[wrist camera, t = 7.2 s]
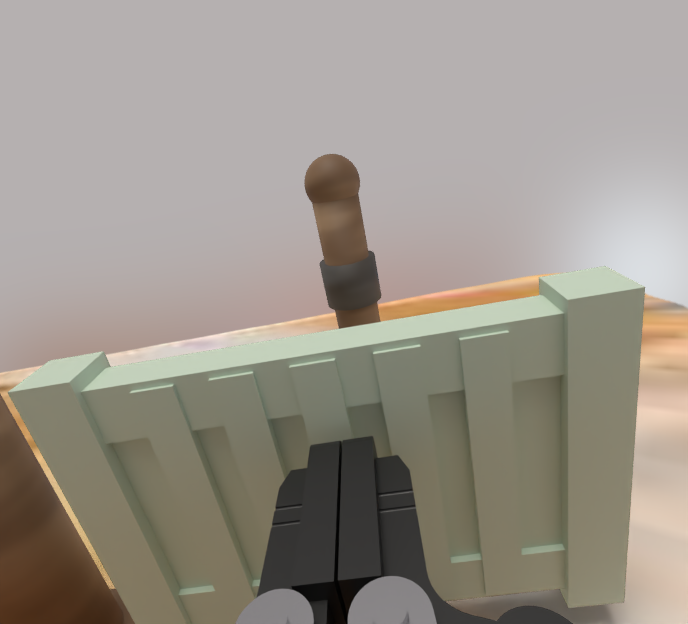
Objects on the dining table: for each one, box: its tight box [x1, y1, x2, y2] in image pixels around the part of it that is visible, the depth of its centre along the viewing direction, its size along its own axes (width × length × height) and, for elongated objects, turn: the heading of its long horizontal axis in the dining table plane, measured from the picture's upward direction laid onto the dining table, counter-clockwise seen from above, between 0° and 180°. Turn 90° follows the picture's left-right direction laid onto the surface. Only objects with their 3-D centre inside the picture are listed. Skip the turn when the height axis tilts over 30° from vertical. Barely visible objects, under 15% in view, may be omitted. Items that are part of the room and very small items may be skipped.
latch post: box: [305, 154, 381, 329], centre depth 25 cm, size 4×4×15 cm
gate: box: [8, 266, 645, 624], centre depth 13 cm, size 15×2×10 cm, turn 89°
